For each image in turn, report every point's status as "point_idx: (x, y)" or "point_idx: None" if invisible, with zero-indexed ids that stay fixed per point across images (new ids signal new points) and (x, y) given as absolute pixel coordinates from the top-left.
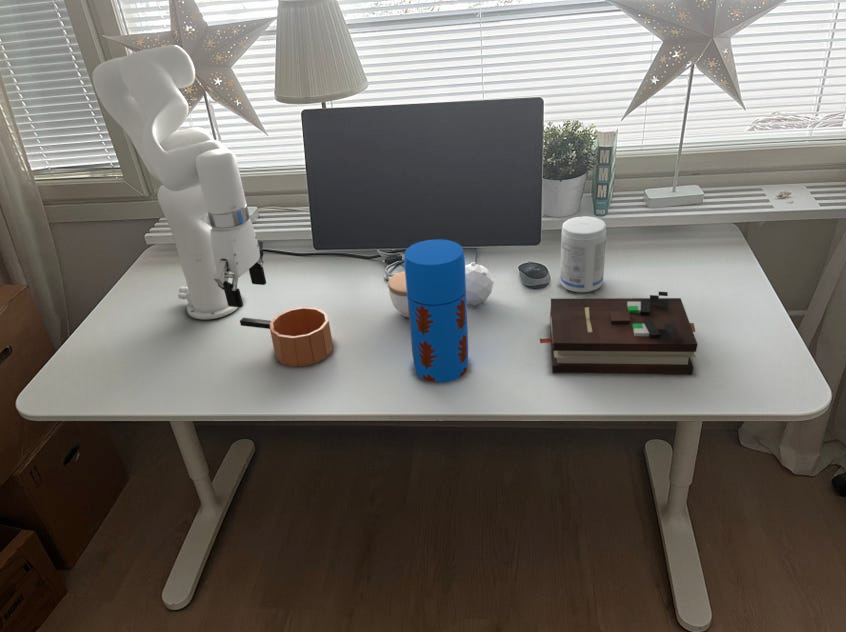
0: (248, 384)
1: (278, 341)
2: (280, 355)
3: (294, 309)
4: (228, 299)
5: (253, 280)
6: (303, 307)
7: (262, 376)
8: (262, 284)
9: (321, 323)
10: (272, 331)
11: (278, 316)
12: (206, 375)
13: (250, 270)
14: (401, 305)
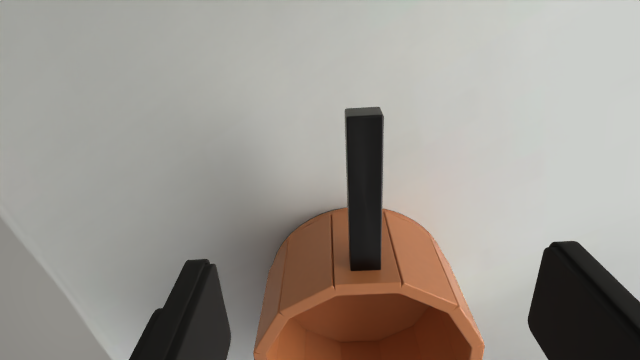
0: (142, 217)
1: (260, 324)
2: (271, 274)
3: (460, 322)
4: (143, 340)
5: (558, 281)
6: (480, 343)
7: (195, 234)
8: (529, 315)
9: (438, 352)
10: (276, 320)
11: (393, 292)
12: (107, 49)
13: (625, 354)
14: None
